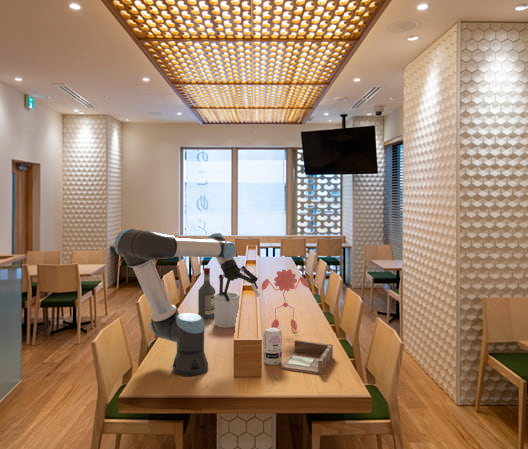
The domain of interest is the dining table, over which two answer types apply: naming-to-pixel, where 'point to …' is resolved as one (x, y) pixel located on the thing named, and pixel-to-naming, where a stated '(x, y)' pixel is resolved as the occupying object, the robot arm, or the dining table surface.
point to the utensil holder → (225, 310)
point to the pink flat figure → (287, 283)
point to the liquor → (206, 297)
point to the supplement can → (272, 346)
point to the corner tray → (309, 357)
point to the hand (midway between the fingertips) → (246, 301)
